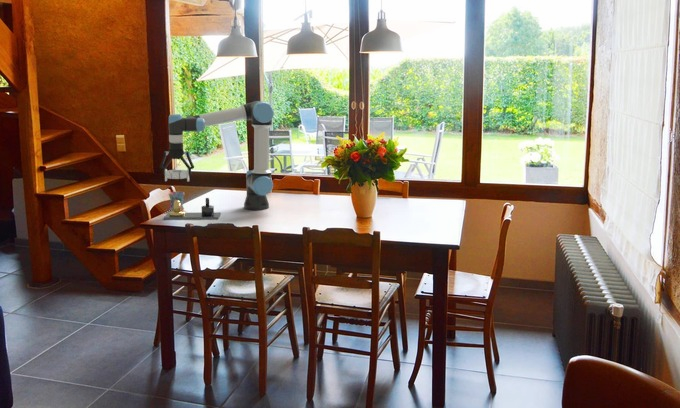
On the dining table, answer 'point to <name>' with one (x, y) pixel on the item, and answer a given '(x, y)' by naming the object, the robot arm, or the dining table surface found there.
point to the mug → (174, 197)
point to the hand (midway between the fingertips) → (177, 181)
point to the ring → (176, 174)
